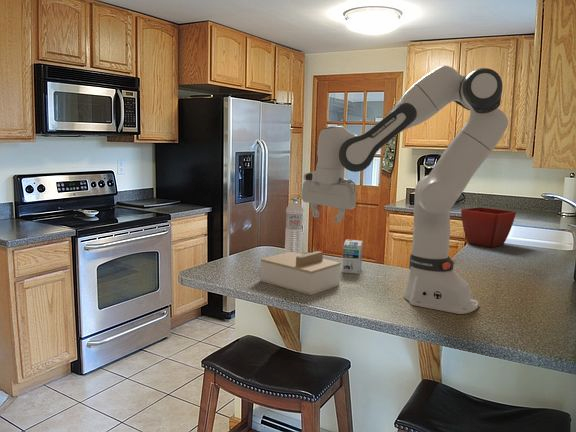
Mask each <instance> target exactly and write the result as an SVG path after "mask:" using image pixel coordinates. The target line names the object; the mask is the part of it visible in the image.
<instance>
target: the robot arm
mask: <svg viewBox="0 0 576 432" xmlns="http://www.w3.org/2000/svg"><path fill="white" fill-rule="evenodd" d="M503 89H504V88H503V80H502V77H501V75H500V74H499V73H498V72H497V71H495V70H493V69H491V68H489V67H488V68H487V67H480V68H477V69H475V70H473V71H471V72H470V73H468V74H467V75H462V74H459V72H458V71H457V70H456V69H454V68H453V67H452V66H449V65H442V66H439V67H437V68H436V69H433V70H432V71H431V72H428V73H427V74H425V75H424V76H423V77H422V78H420V79H419V80H418V81H416V82H415V83H414V84H413V85H412V86H410V87H409V89H407V90H406V91H405V93H404V94H403V95H402V96H401V97H400V98H399V100H397V102H396V103H395V105H394V106H393V107H392V109H391V110H390V112H388V114H387V115H386V116H384V117H383V118H382V119H381V120H380V121H379V122H377V123H376V124H375V125H373V126H372V127H371V128H370V129H369V130H367V131H366V132H364V133H362V134H360V135H357V134H355V133H353V132H351V131H349V130H348V129H347V128H345V126H343V125H335V126H327V127H324V128H322V129H321V130H320V133H319V135H318V141H317V151H316V152H317V153H316V155H317V163H316V168H315V170H314V171H310V172H307V173H304V174H303V180H304V182H303V183H302V189H301V200H302V202H303V203H307V204H308V203H309V205H310V207H309V208H310V209H311V212H312V217H313V218H319V217H320V211H318V206H325V207H331V208H337V212H338V214H337V215H335V216H334V222H336V223H342V220H343V216H344V214H345V212H346V210H347V211H348V210H354V209H355V208H356V206H357V204H356V203H357V197H356V196H357V195H356V183H355V182H354V181H353V180H352V179H346V178H344V174H345V173H344V172H345V171H344V170H345V169H346V170H348V171H350V172H353V173H357V172H362V171H364V170H366V169H367V168H368V167H369V166H370V165H371V164H372V162H373V160H374V159H375V155H376V154H377V153H378V152H379V150H381V149H382V147H384V146H385V145H386V144H387V143H389V142H390V141H392V140H393V138H395V137H396V136H398V135H399V134H401V133H402V132H403V131H405V130H408V129H410V128H412V127H416V126H419V125H420V124H423V123H424V122H426V121H428V120H429V119H431V117H433V116H435V115H436V114H437V113H438V112H440V111H441V110H442V109H443V108H445V107H446V106H447V105H448V104H450V103H452V102H454V103H455V104H457V105H459V106H460V107H462V108H463V109H464V110H467V111H469V112H470V113H469V117H468V119H467V121H466V123H465V124H464V126H462V127H461V129H460V130H459V131H458V133H457V134H456V135H455V137H454V138H453V139H452V141H451V142H450V143H449V144H448V146H447V147H446V148H445V150H444V151H443V153H442V154H441V156H440V157H439V159H438V160H437V162H436V163H435V165H434V166H433V167H432V169H431V171H430V172H429V174H427V175H425V176H423V177H421V179H419V181H417V183H416V185H415V187H414V188H415V189H414V202H413V205H414V206H413V231H412V244H411V245H412V246H411V247H412V248H411V252H410V255H409V265H408V266H409V267H408V268H409V273H408V280H407V284H406V286H405V290H404V292H403V293H404V294H403V298H404V299H406V300H407V301H408V303H409V304H410V305H412V306H415V307H421V308H425V309H431V310H437V311H442V312H446V313H452V314H458V315H464V314H469V313H472V312H473V311H476V310H477V309H478V308H479V302H478V300H476V299H474V298H472V290H471V289H472V288H471V287H470V284H469V283H468V282H467V281H466V280H465V279H464V278H463V277H461V276H460V274H458V273H457V272H456V270H454V265H455V264H456V261H457V260H456V259H454V260H453V259H451V257H450V256H449V252H450V242H451V241H450V240H451V239H450V237H451V209H452V208H453V206H454V205H455V204H456V202H457V200H458V199H459V198H460V196H461V195H462V194H463V192H464V190H465V189H466V187H467V185H468V184H469V182H470V181H471V179H472V177H473V176H474V175H475V173H476V172H477V171H478V170H479V168H480V167H481V165H483V164H484V162H485V161H486V160H487V158H488V157H489V155H490V154H491V153H492V152H493V150H494V149H495V148H496V146H497V145H498V143H499V142H500V140H501V139H502V137H503V135H504V134H505V132H506V130H507V128H508V125H509V119H508V117H507V115H506V113H505V112H503V110H501V109H500V108H499V107H500V106H501V101H502V94H503Z"/></svg>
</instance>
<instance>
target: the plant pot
mask: <svg viewBox="0 0 576 432" xmlns="http://www.w3.org/2000/svg"><path fill="white" fill-rule="evenodd" d="M460 210H461V211H460V213H461V214H460V215H461V223H462V227H463V232H464V235H465V238H466V242H467V244H471V245H477V246H482V247H486V248H494V247H500V246H503V245H504V244H505V243H506V240H508V239H507V238H508V236H509V235H510V232H511V229H512V227H513V224H514V222H515V219H516V218H515V217H516V215H517V212H516V211H513V210H506V209H498V208H491V207H471V208H469V207H468V208H462V209H460Z"/></svg>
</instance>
